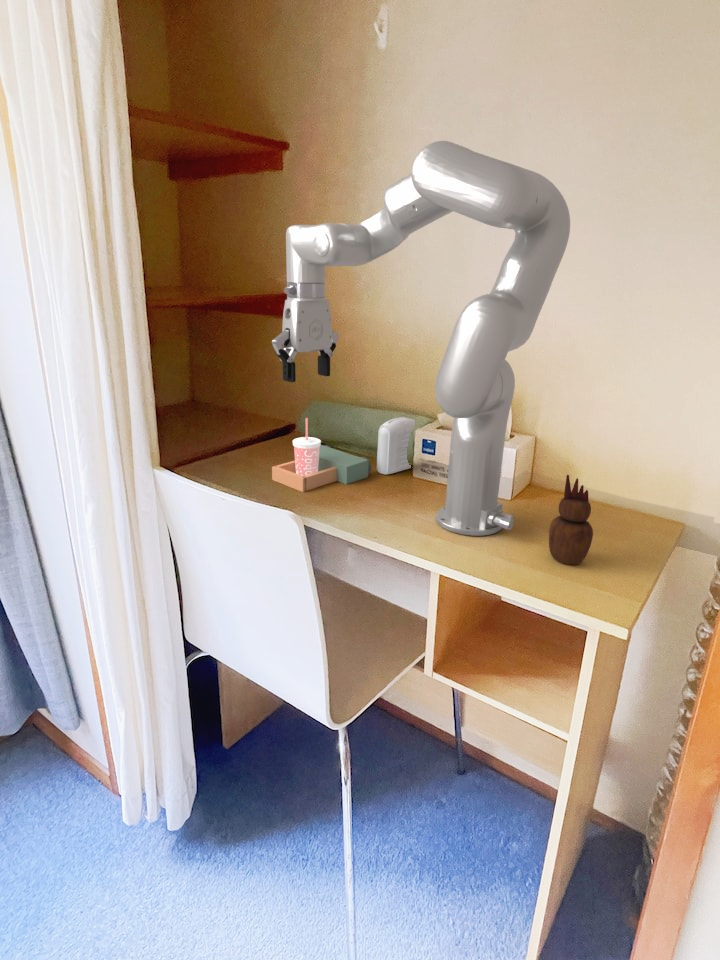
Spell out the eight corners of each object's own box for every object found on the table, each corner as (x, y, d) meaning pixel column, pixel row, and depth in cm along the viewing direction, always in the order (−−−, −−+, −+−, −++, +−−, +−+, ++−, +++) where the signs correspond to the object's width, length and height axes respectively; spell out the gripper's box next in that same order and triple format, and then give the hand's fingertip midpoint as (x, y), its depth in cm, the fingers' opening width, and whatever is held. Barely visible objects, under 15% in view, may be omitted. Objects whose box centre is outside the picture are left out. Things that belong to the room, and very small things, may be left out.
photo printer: (403, 462, 149) (406, 413, 145) (417, 467, 146) (420, 416, 142) (373, 472, 143) (375, 419, 138) (387, 476, 140) (389, 423, 135)
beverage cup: (291, 484, 133) (291, 421, 128) (293, 475, 139) (293, 414, 134) (320, 485, 134) (320, 422, 129) (321, 475, 139) (321, 414, 134)
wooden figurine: (541, 560, 103) (553, 476, 98) (551, 548, 108) (564, 467, 103) (582, 572, 100) (597, 485, 95) (591, 559, 104) (606, 475, 99)
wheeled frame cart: (371, 475, 140) (371, 459, 139) (312, 496, 127) (312, 477, 126) (322, 459, 150) (322, 443, 149) (263, 476, 138) (263, 459, 136)
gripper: (285, 294, 114) (287, 386, 120) (350, 292, 126) (348, 375, 132) (259, 292, 119) (262, 381, 125) (324, 290, 131) (324, 371, 137)
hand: (307, 378), depth 128 cm, fingers open, 9 cm apart
